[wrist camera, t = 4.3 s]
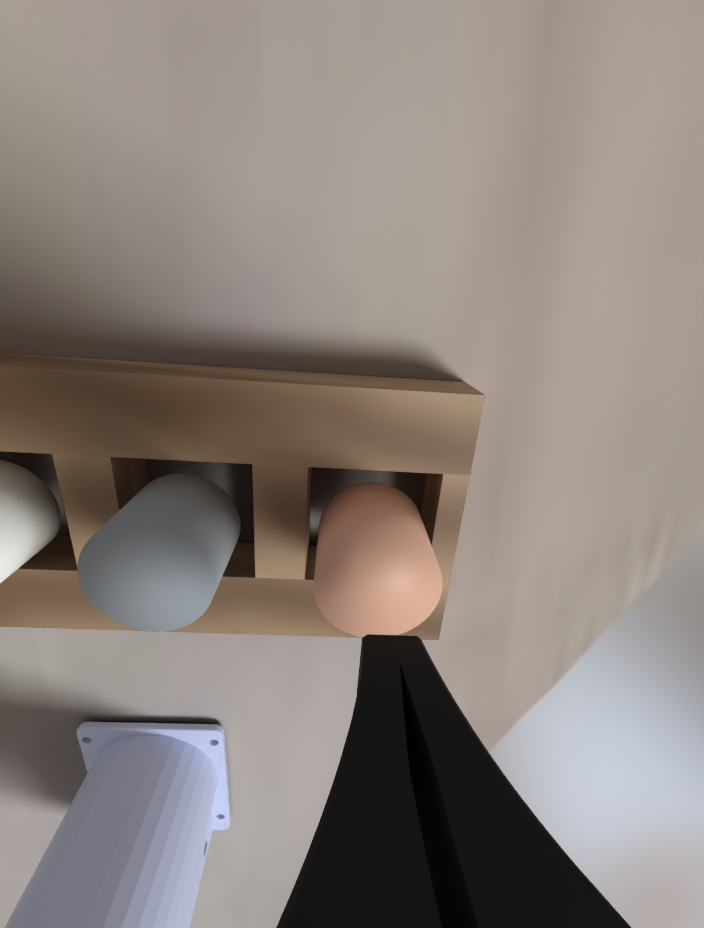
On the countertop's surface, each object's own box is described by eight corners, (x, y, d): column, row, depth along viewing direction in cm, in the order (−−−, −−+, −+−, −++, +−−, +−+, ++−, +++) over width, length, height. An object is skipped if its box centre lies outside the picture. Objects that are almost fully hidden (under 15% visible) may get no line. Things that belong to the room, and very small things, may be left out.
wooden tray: (427, 601, 20) (438, 639, 18) (-8, 585, 19) (-56, 624, 17) (464, 381, 16) (485, 395, 14) (-87, 347, 15) (-163, 355, 13)
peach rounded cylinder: (414, 573, 17) (432, 640, 13) (317, 569, 16) (311, 636, 13) (428, 485, 15) (452, 535, 12) (320, 480, 15) (315, 530, 12)
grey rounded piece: (242, 567, 16) (218, 633, 13) (140, 563, 16) (90, 629, 13) (238, 476, 15) (209, 525, 12) (126, 470, 15) (65, 519, 11)
